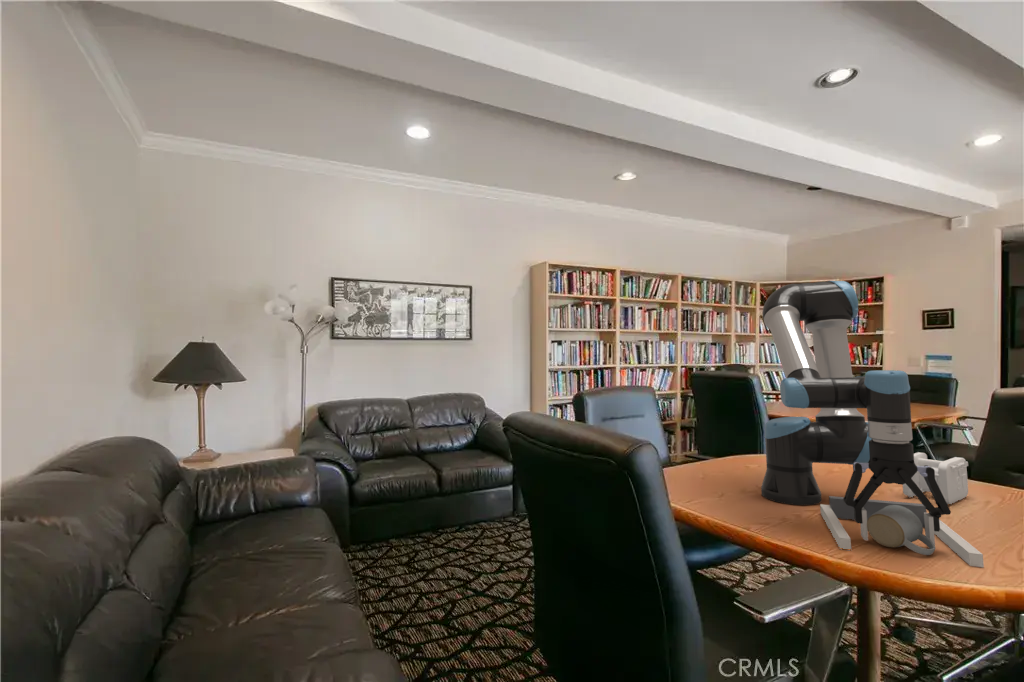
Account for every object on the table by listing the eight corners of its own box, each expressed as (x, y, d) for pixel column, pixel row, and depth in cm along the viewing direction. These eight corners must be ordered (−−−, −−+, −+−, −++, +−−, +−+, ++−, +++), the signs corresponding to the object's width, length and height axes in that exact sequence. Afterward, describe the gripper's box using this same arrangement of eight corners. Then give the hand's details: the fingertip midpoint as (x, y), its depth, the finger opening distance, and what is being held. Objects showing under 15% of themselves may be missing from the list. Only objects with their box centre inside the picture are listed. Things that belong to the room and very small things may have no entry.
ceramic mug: (864, 541, 100) (863, 507, 101) (882, 533, 104) (881, 500, 104) (925, 561, 91) (923, 522, 91) (942, 551, 95) (941, 514, 95)
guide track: (840, 549, 98) (838, 525, 98) (820, 513, 120) (819, 494, 120) (983, 567, 88) (981, 541, 88) (934, 525, 109) (932, 504, 110)
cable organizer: (923, 489, 137) (921, 450, 138) (971, 498, 128) (968, 456, 129) (902, 498, 130) (899, 457, 130) (951, 508, 121) (948, 464, 121)
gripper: (830, 440, 102) (836, 540, 101) (968, 446, 91) (976, 557, 91) (824, 435, 108) (829, 528, 108) (952, 439, 98) (959, 543, 97)
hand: (896, 541), depth 99 cm, fingers closed on ceramic mug, 11 cm apart
